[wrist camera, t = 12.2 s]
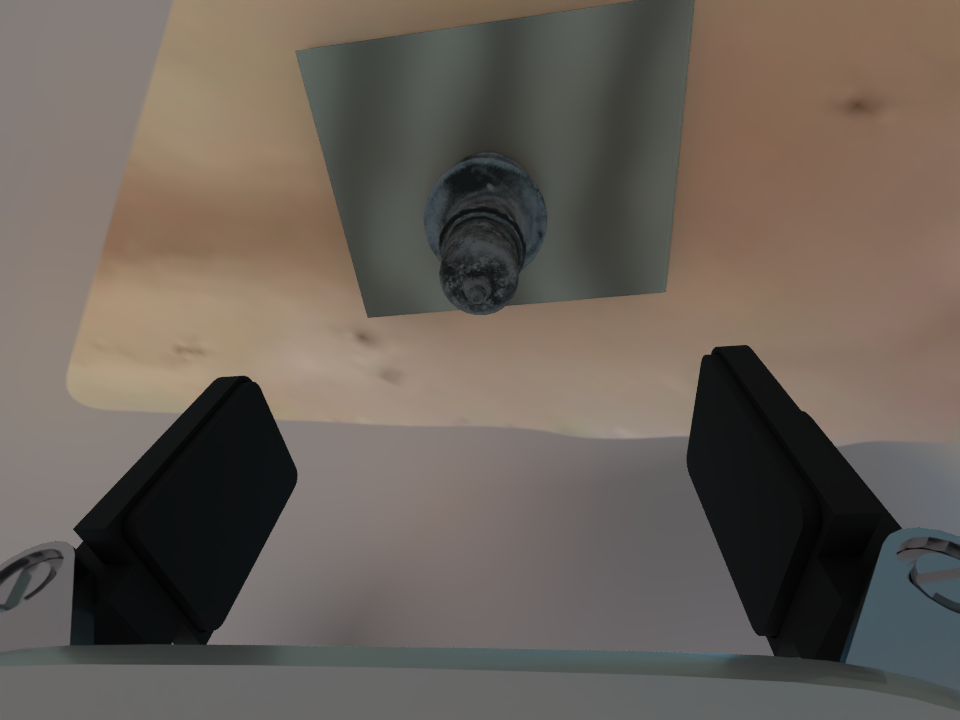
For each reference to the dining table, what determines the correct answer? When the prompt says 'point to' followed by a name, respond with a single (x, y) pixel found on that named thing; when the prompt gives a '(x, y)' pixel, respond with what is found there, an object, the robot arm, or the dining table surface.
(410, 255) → the serving board
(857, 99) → the dining table surface
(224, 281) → the dining table surface
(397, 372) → the dining table surface
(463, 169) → the dark grey chess piece
